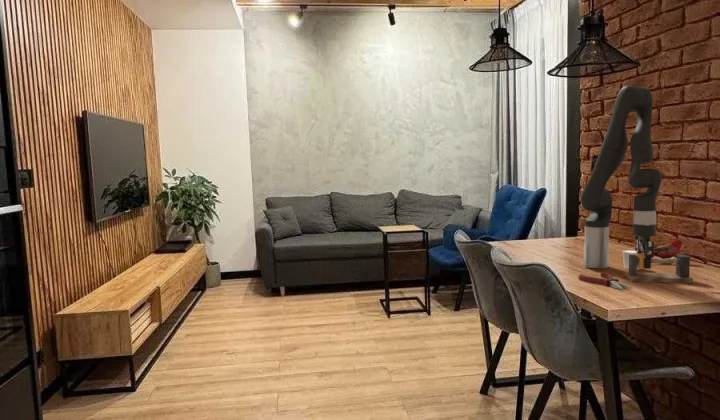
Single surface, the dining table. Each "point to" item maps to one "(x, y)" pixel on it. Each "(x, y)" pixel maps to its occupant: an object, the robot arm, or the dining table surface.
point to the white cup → (626, 257)
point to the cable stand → (680, 275)
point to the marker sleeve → (640, 260)
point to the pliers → (604, 281)
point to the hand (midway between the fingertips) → (643, 265)
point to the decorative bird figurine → (668, 249)
